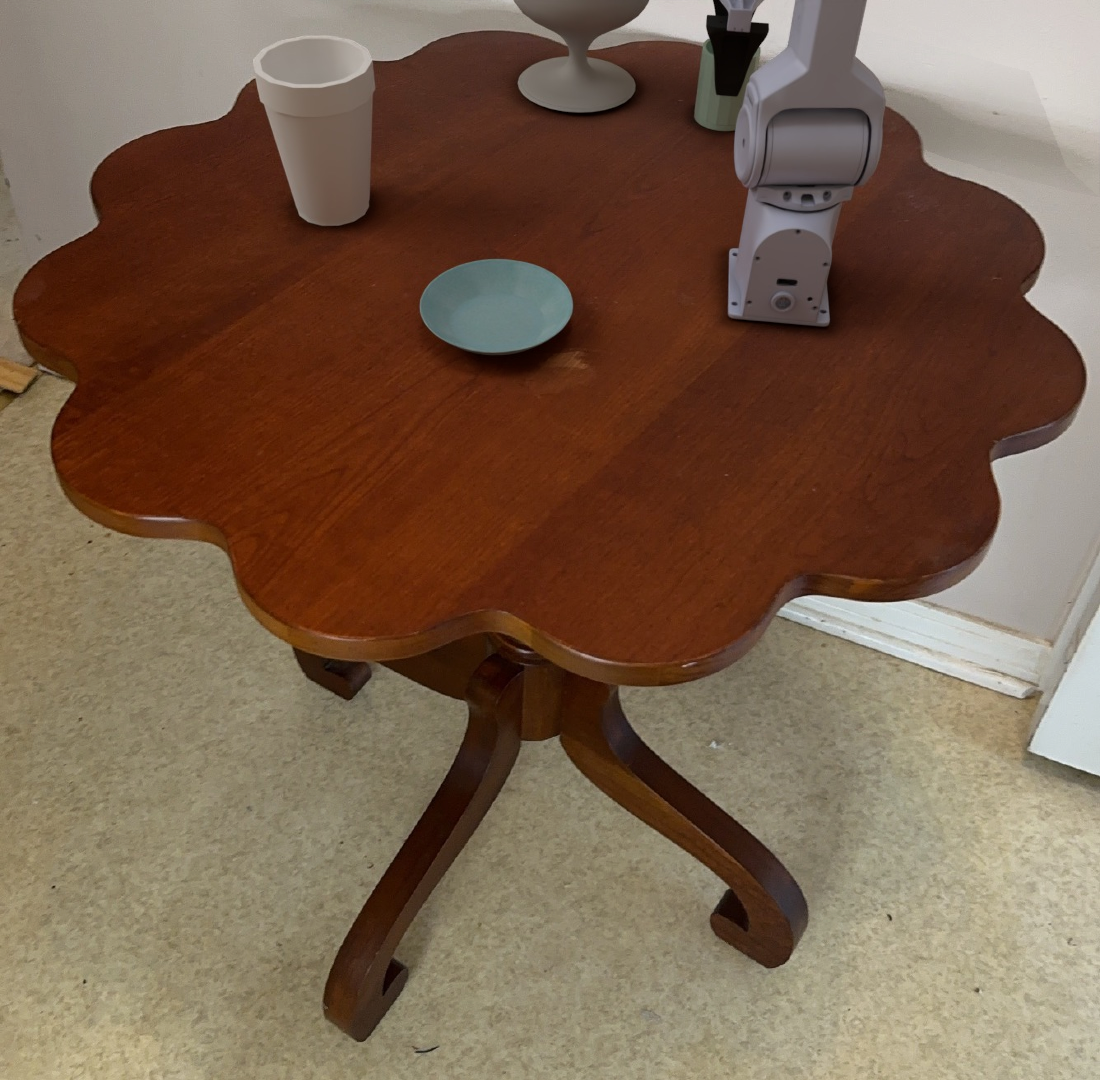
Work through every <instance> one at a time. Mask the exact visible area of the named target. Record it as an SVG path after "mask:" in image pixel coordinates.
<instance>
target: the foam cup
mask: <svg viewBox="0 0 1100 1080" xmlns="http://www.w3.org/2000/svg"><path fill="white" fill-rule="evenodd" d="M252 66H253V72H254V78H255V82H256V83H255V84H256V88H257V92H258V93H257V94H258V97H259V102H260V103H261V104H263V106H264V110H265V112H266V113H265V114H266V116H267V119H268V123H269V125H270V129H271V131H272V134H273V137H274V141H275V145H276V147H277V150H278V153H279V157H280V160H281V163H282V166H283V170H284V173H285V176H286V179H287V182H288V186H289V189H290V192H291V196H292V198H293V202H294V205H295V209H296V210H297V212H298V216H299V217H301V218H302V219H303V220H304V221H306V222H307V223H310V224H314V225H318V226H321V227H334V226H336V227H338V226H342V225H346V224H351V223H353V222H355V221H357V220H359V219H361V218H362V217H364V216H365V215H366V212H367V211H368V209H369V208H370V198H371V169H372V168H371V166H372V165H371V164H372V163H371V162H372V133H373V132H372V131H373V99H374V92H375V91H376V82H375V72H374V61H373V58H372V56H371V53H370V51H369V49H368V48H367V47H365V46H364V45H362V44H360V42H359V43H358V42H357V41H355V40H354V39H349V38H344V37H340V36H335V35H331V34H330V35H329V34H328V35H325V34H323V35H319V34H318V35H316V34H315V35H300V36H295V37H291V38H286V39H281V40H278V41H276V42H274V43H272V44H270V45H267V46H265V47H264V48H261V49H260V51H259V52H258V53H257V54H256V56H255V57H254V58H253V60H252Z"/></svg>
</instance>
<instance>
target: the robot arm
mask: <svg viewBox="0 0 1100 1080" xmlns="http://www.w3.org/2000/svg"><path fill="white" fill-rule="evenodd" d="M764 1H765V0H712V3H713V9H714V14H706V19H705V21H706V22H705V29H706V32H707V36H708V39H710V41H711V45H712V49H713V55H714V77H715V91H716V95H720V96H733V97H737V96H738V94H739V92H740V90H741V88H742V85H743V82H744V80H745V77H746V74H747V71H748V68H749V65H750V63H751V61H752V58H753V56H754V55H755V53H756V51H757V49H758V48H759V47H761V45H762V44H763V43H764V41H765V40H766V39H767V37H768V35H769V32H770V23H769V22H756V21H753V18H754V16H755V14H756V11H757V9H758V7H760V6H761V4H763V2H764ZM867 2H868V0H794V5H793V11H792V17H791V23H790V24H791V25H790V30H789V36H788V40H787V46H786V47H785V48H784V49H783V50H782V51H781V52H779V53H778V54H777V55H776V56H774V57H772V58H771V59H769V60H768V61H767V62H765V63H764V64H763V65H762V66H760V67H758V70H756V71H755V72H754V73H753V74H752V75H751V76H750V80H749V83H748V84H747V86H746V91H745V96H744V101H743V105H742V108H741V110H740V112H739V115H738V118H737V123H736V129H735V130H734V141H733V160H734V161H733V163H734V171H735V174H736V177H737V179H738V180H739V182H741V184H742V186H743V187H744V188H746V189H748V192H747V197H746V203H745V209H744V214H743V219H742V220H743V221H742V226H741V232H740V238H739V243H738V247H737V248H736V247H735V248H734V247H733V248H730V249H729V252H728V286H727V287H728V288H727V291H728V292H727V316H728V317H729V318H731V319H732V320H733V319H734V320H746V321H756V322H767V323H779V324H787V325H790V324H791V325H800V326H811V327H822V328H825V327H828V326H829V325H830V322H831V321H830V320H831V318H830V305H829V293H828V278H829V274H830V269H831V266H832V261H833V260H832V259H833V249H832V246H833V242H834V239H835V234H836V231H837V226H838V222H839V218H840V215H841V209H842V206H843V203H844V202H848V201H849V202H850V201H852V198H853V194H854V189H855V188H861V187H864V186H865V185H866V184H867V183H868V182H869V180H870V179H871V178H872V177H873V175H874V174H875V172H876V170H877V167H878V164H879V161H880V158H881V154H882V147H883V135H884V134H883V130H884V129H883V123H884V117H885V109H886V104H887V100H886V95H885V91H884V88H883V85H882V83H881V81H880V79H879V78H878V76H877V75H876V74H875V73H874V72H873V71H872V70H871V69H870V68H869V67H868V66H867V65H866V64H865V63H864V62H862V61H861V59H859V58H858V57H857V56H856V55H857V49H858V45H859V41H860V36H861V31H862V25H863V21H864V17H865V11H866V7H867Z"/></svg>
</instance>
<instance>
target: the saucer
mask: <svg viewBox="0 0 1100 1080" xmlns="http://www.w3.org/2000/svg"><path fill="white" fill-rule="evenodd" d="M573 310H574V301H573V295H572V293H571V291H570V289H569V287H568V286H567V285H566V283H565V282H564V281H563V280H562V279H561V278H560V277H559V276H557V275H555V274H554V273H553V272H551V271H550V270H547V269H546V268H544V267H541V266H539V265H536V264H533V263H529V262H526V261H520V260H514V259H507V258H491V259H487V258H486V259H479V260H474V261H470V262H465V263H462V264H459V265H456V266H454V267H452V268H450V269H448V270H445V271H444V272H442V273H440V274H439V275H438V276H436V277H435V278H434V279H433V280H432V281H430V283H429V284H428V285H427V286H426V287H425V289H424V290H423V292H422V294H421V297H420V300H419V313H420V316H421V319H422V321H423V323H424V325H425V326H426V328H428V329H429V331H430V332H431V333H432V334H434V335H435V336H436V337H438V338H439V339H440V340H442V341H444V342H446V343H447V344H449V345H451V346H452V347H455V348H458V349H460V350H463V351H466V352H468V353H473V354H477V355H478V354H479V355H483V356H484V355H485V356H506V355H514V354H518V353H522V352H526V351H529V350H531V349H534V348H536V347H538V346H541V345H542V344H544V343H546V342H548V341H550V340H551V339H552V338H554V337H555V336H556V335H558V334H559V333H561V331H563V329H564V328H565V327H566V325H567V324H568V323H569V321H570V319H571V317H572V315H573V313H574V311H573Z"/></svg>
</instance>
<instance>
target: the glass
mask: <svg viewBox="0 0 1100 1080" xmlns="http://www.w3.org/2000/svg"><path fill="white" fill-rule="evenodd" d="M760 59H761V46H759V48H758V49H757V51H756V53H755V55H754V56H753V58H752V61H751V63H750V65H749V68H748V71H747V74H746V77H745V80H744V82H743V85H742V88H741V90H740V92H739V94H738V96H737V97H733V96H720V95H716V91H715V77H714V55H713V49H712V45H711V41H710V39H709V38H707V39H705V41H704V42H702V47H701V55H700V63H699V70H698V78H697V86H696V94H695V103H694V111H693V112H694V113H693V118H694V120H695V122H696V123H697V124H699V126H701V127H703V128H706V129H710V130H712V131H716V132H717V131H718V132H733V131H734V132H735V129H736V123H737V118H738V115H739V112H740V110H741V108H742V105H743V101H744V96H745V91H746V86H747V84H748V83H749V80H750V76H751V75H752V74H753V73H754V72H755V71H756V70H758V69H759V63H760Z"/></svg>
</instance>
